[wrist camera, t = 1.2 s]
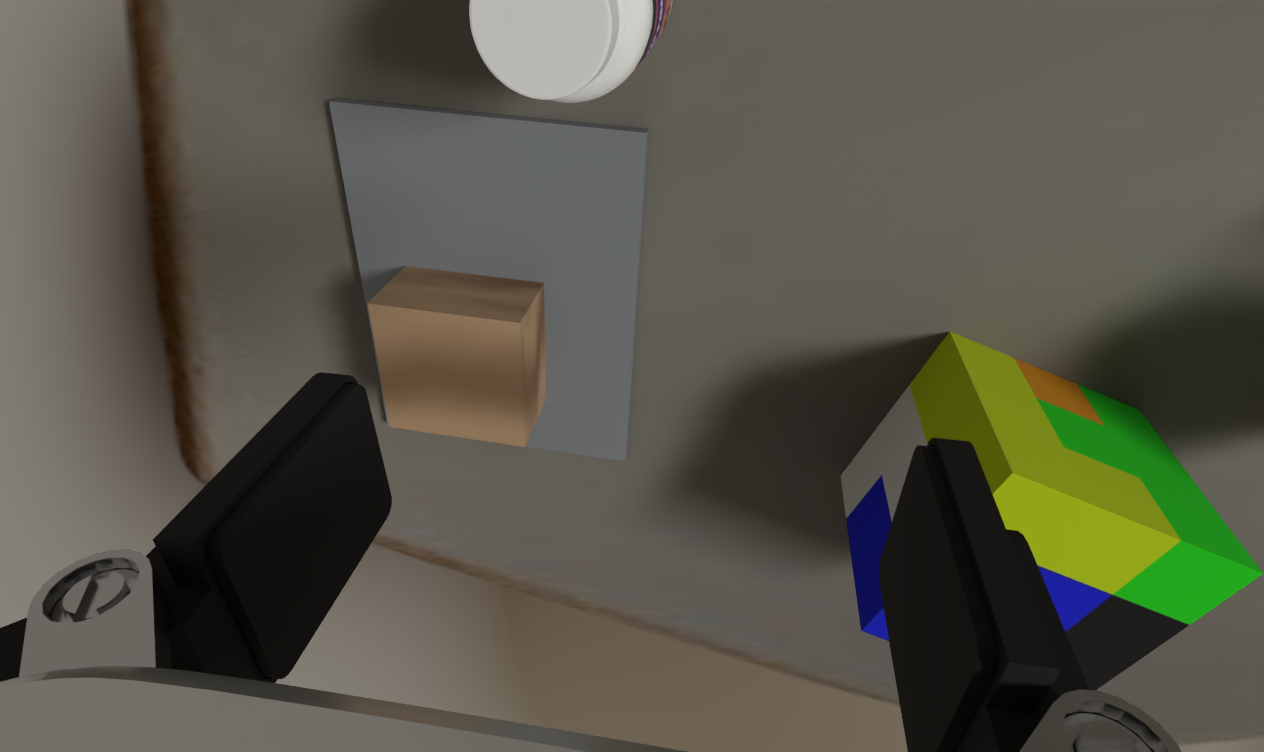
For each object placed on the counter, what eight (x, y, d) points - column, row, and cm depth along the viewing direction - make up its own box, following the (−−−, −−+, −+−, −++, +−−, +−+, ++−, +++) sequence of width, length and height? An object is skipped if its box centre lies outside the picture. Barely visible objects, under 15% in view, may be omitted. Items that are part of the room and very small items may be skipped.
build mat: (335, 98, 31) (328, 101, 30) (648, 129, 29) (646, 132, 29) (392, 420, 41) (387, 426, 40) (627, 454, 39) (625, 461, 39)
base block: (405, 265, 34) (367, 303, 31) (544, 282, 33) (519, 323, 30) (422, 382, 38) (389, 426, 35) (546, 400, 37) (525, 446, 34)
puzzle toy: (840, 475, 38) (861, 630, 30) (949, 330, 32) (1012, 472, 24) (1003, 539, 39) (1068, 708, 30) (1138, 408, 33) (1263, 573, 25)
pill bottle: (626, 94, 29) (572, 163, 21) (514, 11, 28) (411, 51, 20) (704, -32, 26) (677, -8, 18) (582, -130, 25) (495, -150, 17)
